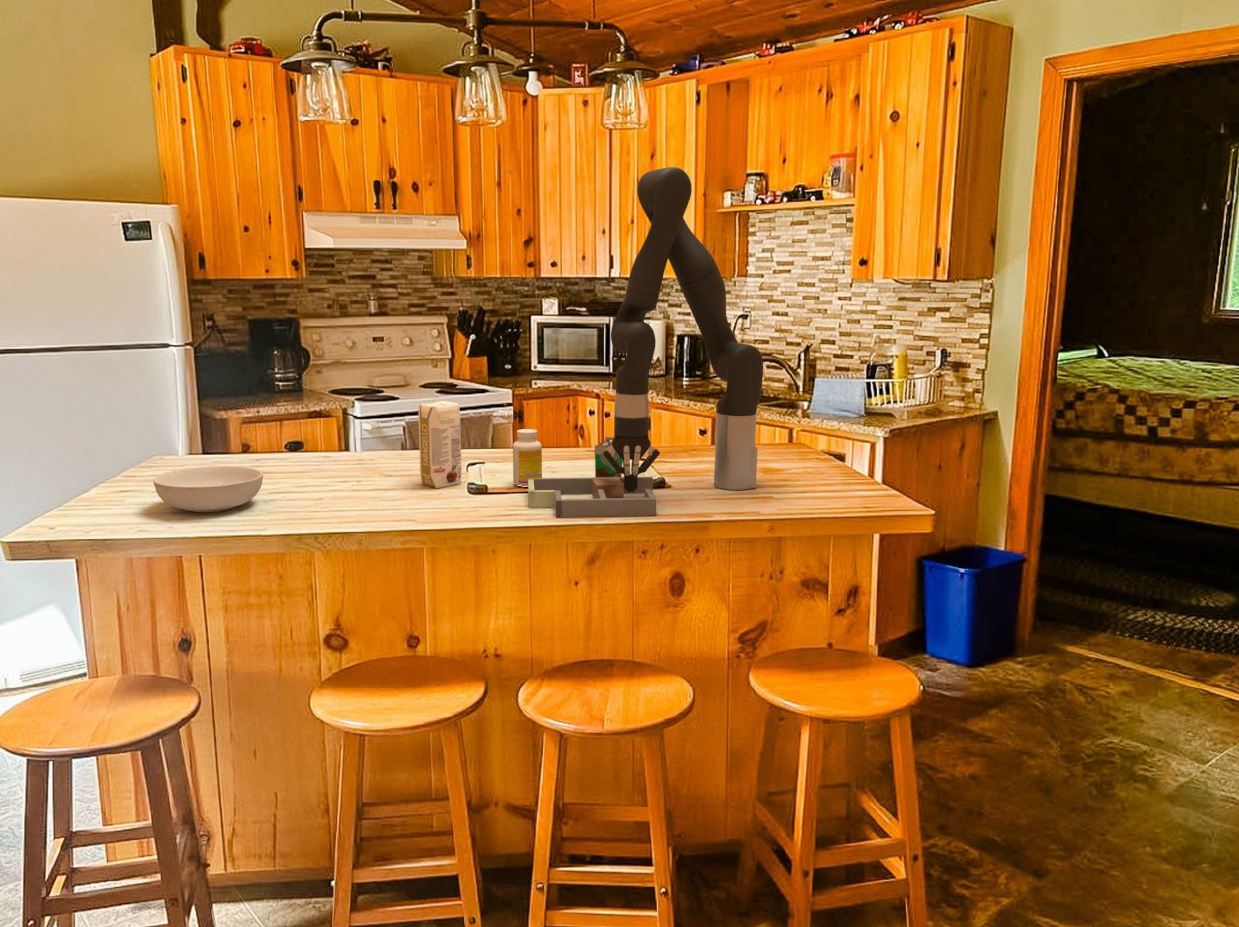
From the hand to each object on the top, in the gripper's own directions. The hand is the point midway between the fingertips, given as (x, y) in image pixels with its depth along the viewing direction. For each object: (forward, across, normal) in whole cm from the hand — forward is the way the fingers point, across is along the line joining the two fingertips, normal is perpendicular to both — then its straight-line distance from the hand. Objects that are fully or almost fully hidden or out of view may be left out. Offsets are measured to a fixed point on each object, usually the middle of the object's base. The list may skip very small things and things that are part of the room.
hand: (630, 491), depth 209 cm
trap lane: (+2, +8, +4) cm, 9 cm away
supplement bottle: (+2, +22, -14) cm, 27 cm away
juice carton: (+2, +42, -16) cm, 45 cm away
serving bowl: (+2, +88, +1) cm, 88 cm away
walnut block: (+2, +5, 0) cm, 5 cm away
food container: (+2, +2, -15) cm, 15 cm away
